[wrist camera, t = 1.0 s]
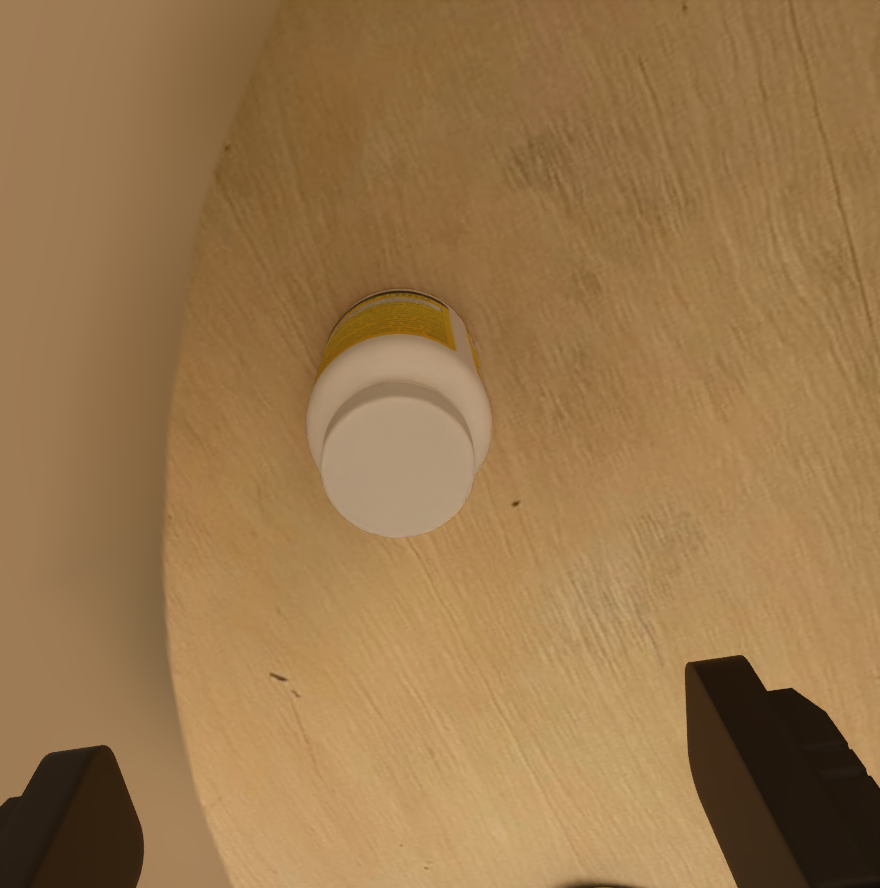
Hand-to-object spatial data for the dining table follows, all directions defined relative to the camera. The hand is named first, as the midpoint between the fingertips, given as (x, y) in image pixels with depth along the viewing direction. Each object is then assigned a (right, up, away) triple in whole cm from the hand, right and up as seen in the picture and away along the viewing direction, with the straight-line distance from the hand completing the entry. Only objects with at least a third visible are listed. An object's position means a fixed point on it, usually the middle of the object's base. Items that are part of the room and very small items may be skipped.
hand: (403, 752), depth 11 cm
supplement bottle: (-1, +7, +19) cm, 20 cm away
